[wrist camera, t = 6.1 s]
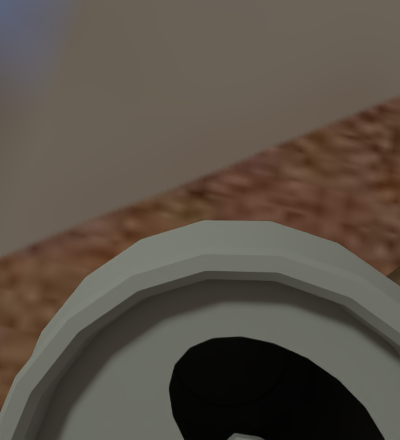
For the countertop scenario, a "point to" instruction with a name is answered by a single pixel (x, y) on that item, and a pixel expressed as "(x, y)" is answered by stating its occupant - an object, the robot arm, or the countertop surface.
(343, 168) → the countertop surface
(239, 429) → the can
